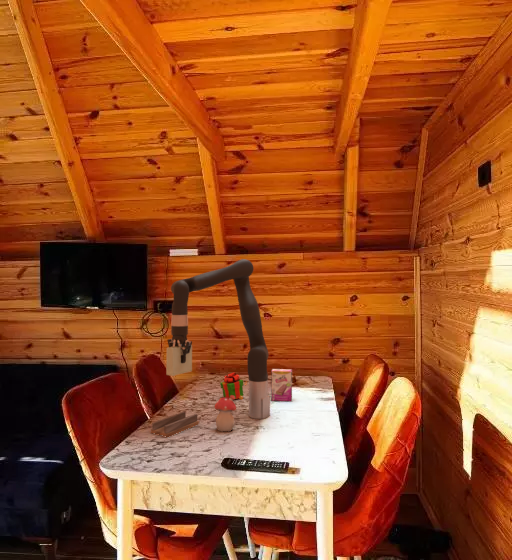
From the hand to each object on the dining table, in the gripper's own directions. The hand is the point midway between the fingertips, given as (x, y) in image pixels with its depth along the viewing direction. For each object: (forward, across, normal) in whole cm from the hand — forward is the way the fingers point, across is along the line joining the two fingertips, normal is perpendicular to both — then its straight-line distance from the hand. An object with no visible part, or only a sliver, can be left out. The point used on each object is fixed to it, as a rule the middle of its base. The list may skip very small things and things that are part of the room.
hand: (179, 362), depth 188 cm
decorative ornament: (+28, -22, -6) cm, 36 cm away
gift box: (+28, +4, -45) cm, 53 cm away
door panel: (+5, 0, 0) cm, 5 cm away
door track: (+28, -4, +6) cm, 28 cm away
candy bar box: (+27, -19, -58) cm, 67 cm away
